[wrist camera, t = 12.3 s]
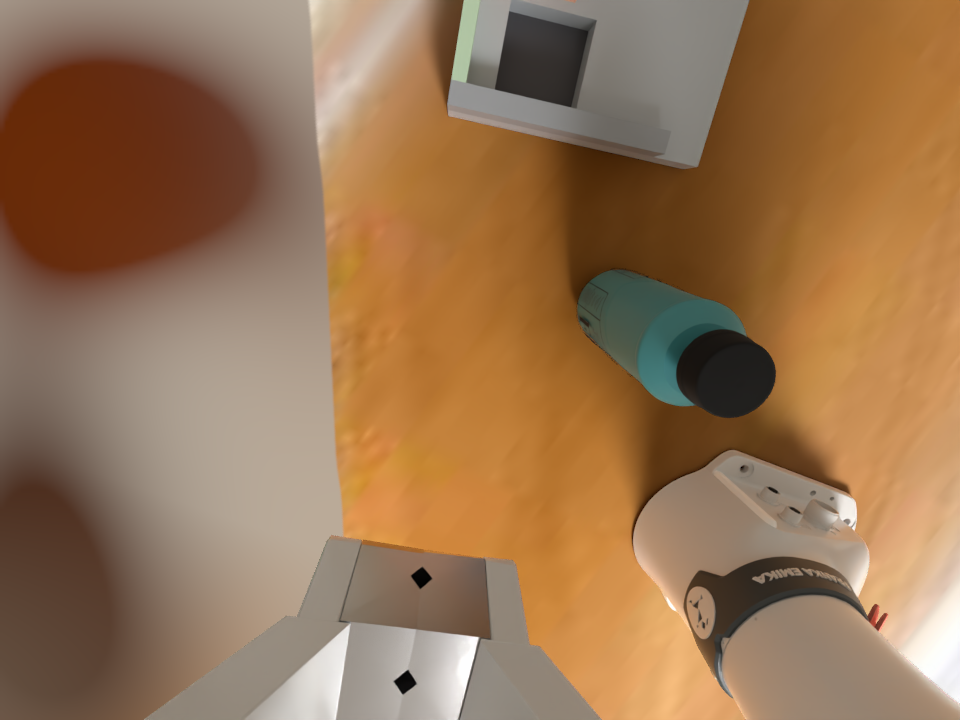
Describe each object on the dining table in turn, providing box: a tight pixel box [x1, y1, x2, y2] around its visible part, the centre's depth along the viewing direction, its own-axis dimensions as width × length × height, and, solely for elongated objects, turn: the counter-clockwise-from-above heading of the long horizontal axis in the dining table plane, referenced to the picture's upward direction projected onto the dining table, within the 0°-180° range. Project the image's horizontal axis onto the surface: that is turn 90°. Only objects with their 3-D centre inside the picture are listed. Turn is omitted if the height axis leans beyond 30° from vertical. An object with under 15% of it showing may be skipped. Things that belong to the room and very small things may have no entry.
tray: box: [447, 0, 749, 169], centre depth 33 cm, size 19×15×4 cm
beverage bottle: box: [576, 268, 776, 418], centre depth 32 cm, size 6×7×20 cm
